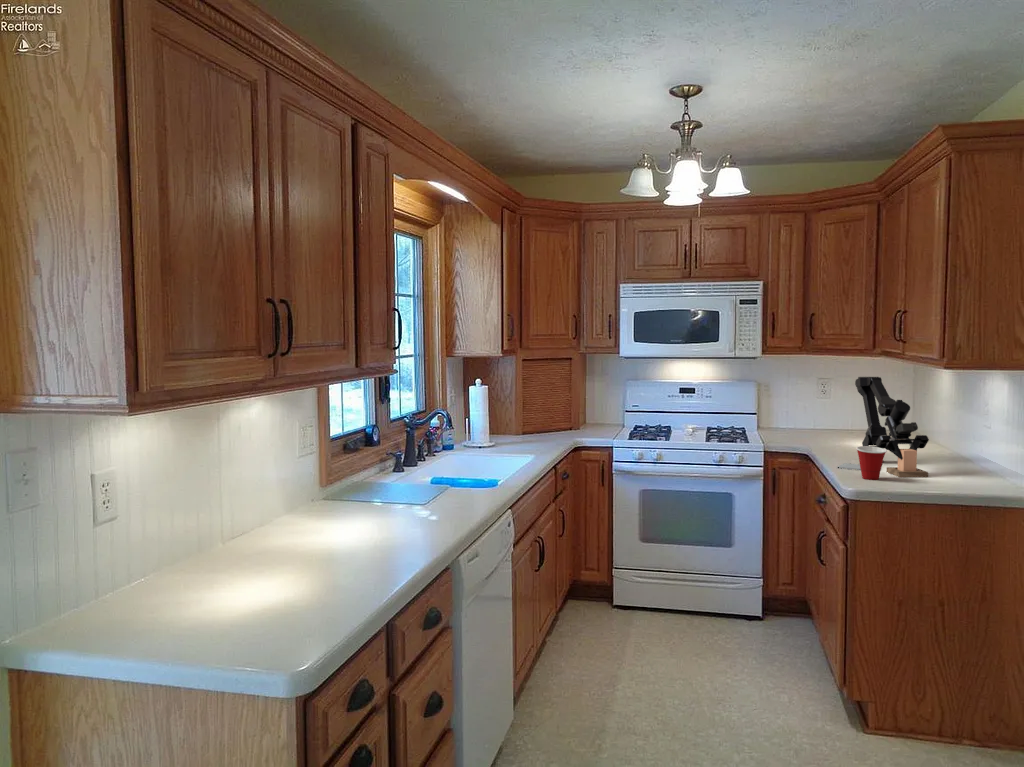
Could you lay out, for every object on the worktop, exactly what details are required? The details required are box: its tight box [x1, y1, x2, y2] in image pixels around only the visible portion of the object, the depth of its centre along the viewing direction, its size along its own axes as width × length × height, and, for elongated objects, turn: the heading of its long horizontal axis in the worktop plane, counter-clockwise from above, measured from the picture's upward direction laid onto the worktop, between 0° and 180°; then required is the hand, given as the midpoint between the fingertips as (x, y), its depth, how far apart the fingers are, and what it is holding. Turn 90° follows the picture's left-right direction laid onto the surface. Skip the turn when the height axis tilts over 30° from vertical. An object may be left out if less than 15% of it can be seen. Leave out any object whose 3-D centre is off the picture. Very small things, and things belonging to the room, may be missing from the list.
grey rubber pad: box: [836, 462, 861, 471], centre depth 312 cm, size 11×11×1 cm
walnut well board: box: [885, 466, 929, 478], centre depth 295 cm, size 11×11×2 cm
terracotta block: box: [897, 448, 918, 471], centre depth 295 cm, size 5×5×10 cm
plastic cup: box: [855, 445, 888, 481], centre depth 288 cm, size 11×11×12 cm
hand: (908, 458), depth 293 cm, fingers closed on terracotta block, 5 cm apart
